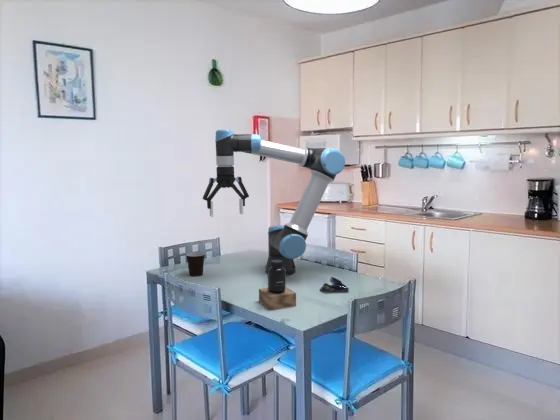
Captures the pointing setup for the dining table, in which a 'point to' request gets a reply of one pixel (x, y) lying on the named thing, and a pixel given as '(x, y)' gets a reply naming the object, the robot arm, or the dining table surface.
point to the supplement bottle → (276, 277)
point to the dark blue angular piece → (334, 285)
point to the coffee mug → (195, 263)
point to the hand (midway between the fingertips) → (226, 215)
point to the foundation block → (277, 298)
